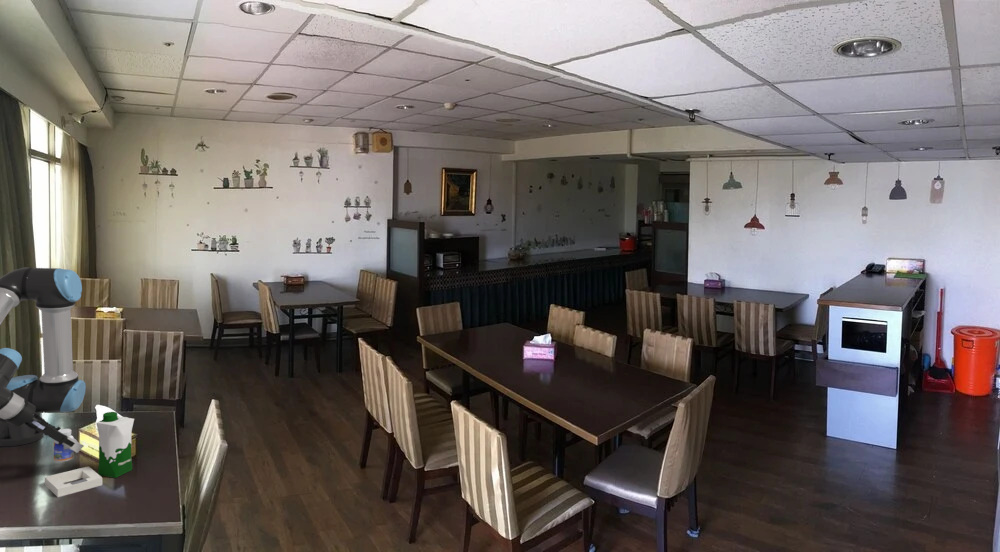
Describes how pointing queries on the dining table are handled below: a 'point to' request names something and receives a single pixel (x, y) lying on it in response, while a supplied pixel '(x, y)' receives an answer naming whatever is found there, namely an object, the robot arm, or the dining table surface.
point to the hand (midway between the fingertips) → (76, 446)
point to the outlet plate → (61, 489)
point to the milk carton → (114, 445)
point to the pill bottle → (63, 448)
